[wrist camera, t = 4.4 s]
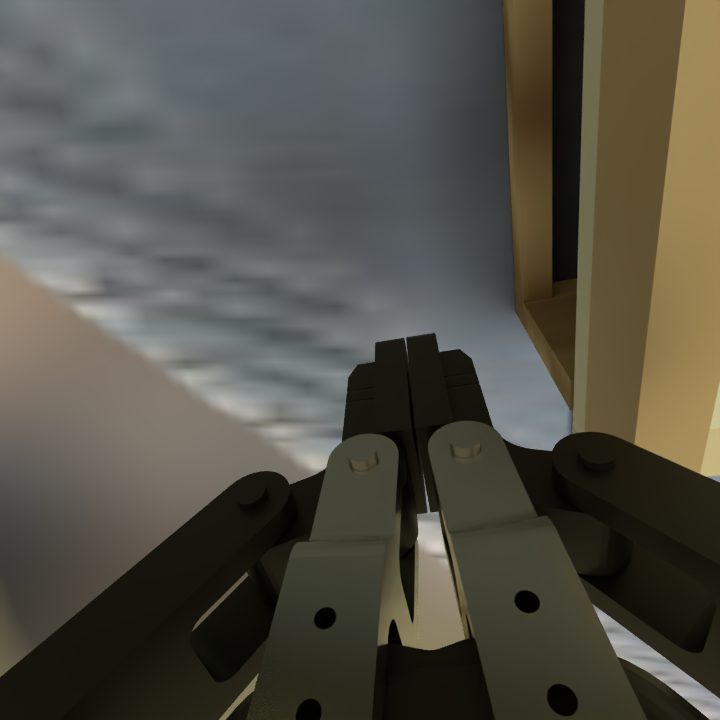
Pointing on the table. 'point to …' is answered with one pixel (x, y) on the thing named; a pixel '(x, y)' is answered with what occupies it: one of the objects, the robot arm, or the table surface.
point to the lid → (650, 226)
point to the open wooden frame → (536, 190)
